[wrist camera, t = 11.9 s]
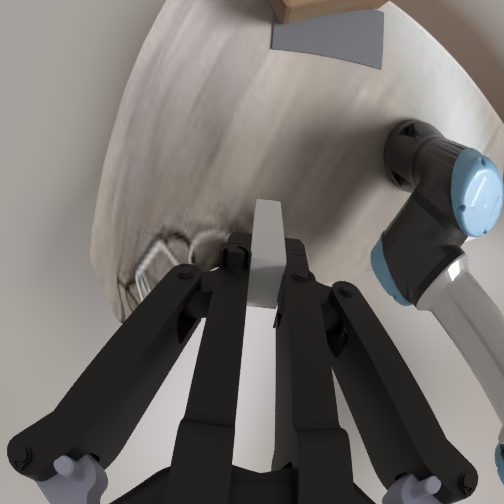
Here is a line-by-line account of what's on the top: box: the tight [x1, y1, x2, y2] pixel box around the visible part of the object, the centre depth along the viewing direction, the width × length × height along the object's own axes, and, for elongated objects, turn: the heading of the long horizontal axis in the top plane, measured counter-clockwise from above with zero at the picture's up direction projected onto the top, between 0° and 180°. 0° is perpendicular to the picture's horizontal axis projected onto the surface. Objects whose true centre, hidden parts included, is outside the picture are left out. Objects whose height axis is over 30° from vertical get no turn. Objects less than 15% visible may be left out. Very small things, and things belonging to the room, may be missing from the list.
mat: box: [272, 9, 384, 69], centre depth 33 cm, size 20×13×1 cm, turn 87°
